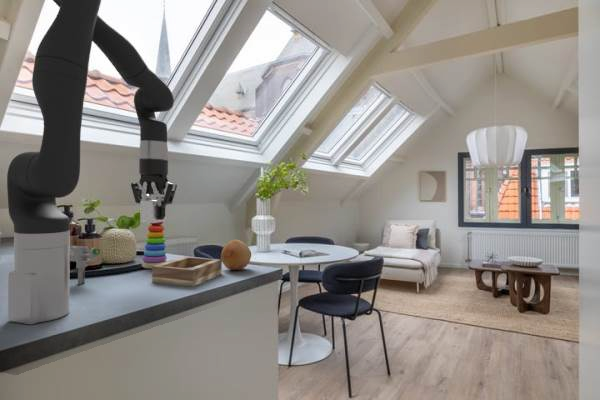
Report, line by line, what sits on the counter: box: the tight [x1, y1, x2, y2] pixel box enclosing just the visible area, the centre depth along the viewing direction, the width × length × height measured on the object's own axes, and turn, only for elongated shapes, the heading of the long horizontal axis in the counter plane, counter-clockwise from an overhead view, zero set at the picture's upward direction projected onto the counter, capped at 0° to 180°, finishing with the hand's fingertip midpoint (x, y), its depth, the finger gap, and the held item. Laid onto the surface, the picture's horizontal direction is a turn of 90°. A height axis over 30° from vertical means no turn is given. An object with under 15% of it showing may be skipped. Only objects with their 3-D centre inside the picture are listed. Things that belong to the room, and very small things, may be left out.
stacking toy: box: [141, 222, 168, 269], centre depth 121 cm, size 8×8×19 cm
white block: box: [139, 199, 167, 224], centre depth 102 cm, size 6×4×6 cm, turn 164°
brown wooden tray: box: [151, 256, 223, 287], centre depth 107 cm, size 16×13×4 cm
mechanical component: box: [70, 245, 101, 285], centre depth 98 cm, size 3×10×10 cm, turn 79°
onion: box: [220, 239, 252, 271], centre depth 120 cm, size 10×10×10 cm
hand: (153, 218), depth 102 cm, fingers closed on white block, 4 cm apart
